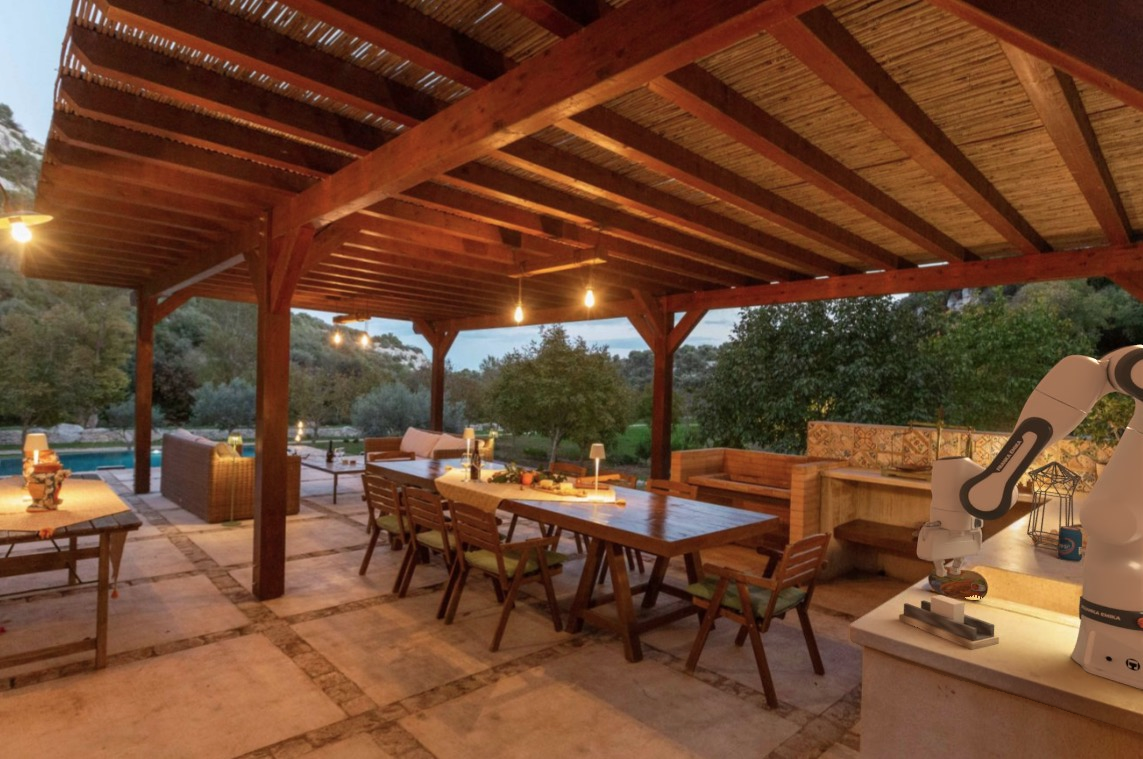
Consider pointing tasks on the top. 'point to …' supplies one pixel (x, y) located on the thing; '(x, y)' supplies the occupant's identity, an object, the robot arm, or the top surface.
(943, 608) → the block
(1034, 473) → the geometric lantern
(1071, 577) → the top surface
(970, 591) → the tin
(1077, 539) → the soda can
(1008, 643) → the top surface
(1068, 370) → the robot arm
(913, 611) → the rail board
